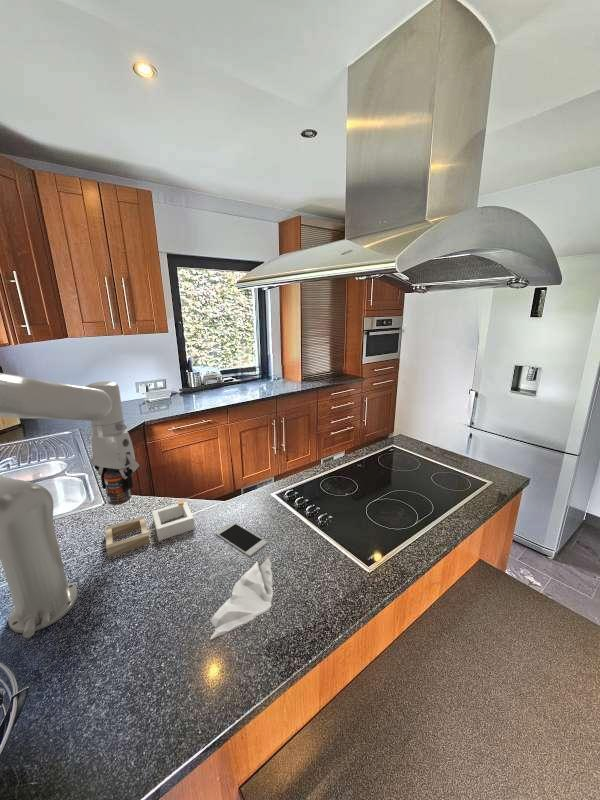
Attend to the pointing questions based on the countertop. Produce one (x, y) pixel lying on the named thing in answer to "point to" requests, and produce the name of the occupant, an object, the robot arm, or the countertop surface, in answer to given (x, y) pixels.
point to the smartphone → (241, 538)
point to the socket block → (175, 526)
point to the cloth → (246, 599)
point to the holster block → (130, 542)
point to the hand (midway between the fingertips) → (117, 487)
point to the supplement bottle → (115, 487)
